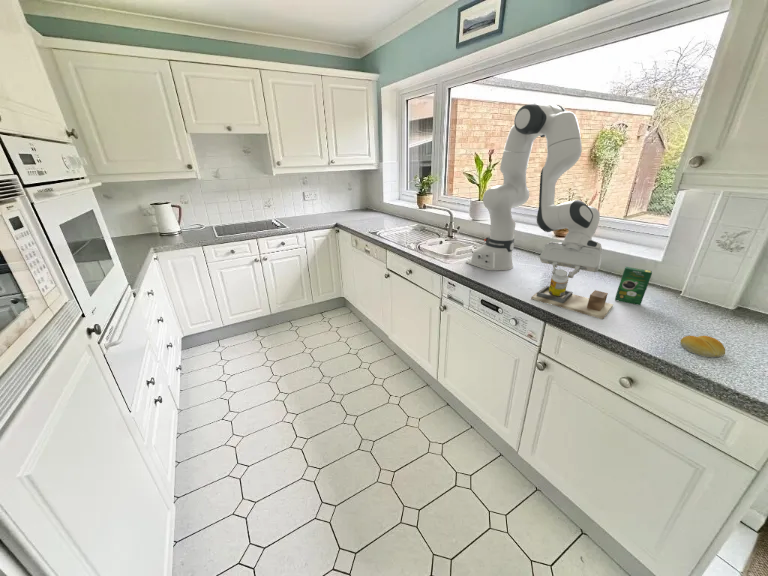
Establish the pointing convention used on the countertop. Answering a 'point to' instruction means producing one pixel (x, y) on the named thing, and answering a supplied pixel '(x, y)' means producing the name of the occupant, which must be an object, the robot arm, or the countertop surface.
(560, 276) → the supplement bottle
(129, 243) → the countertop surface
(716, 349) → the bread roll
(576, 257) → the robot arm
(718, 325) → the countertop surface
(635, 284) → the coffee box
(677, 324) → the countertop surface
